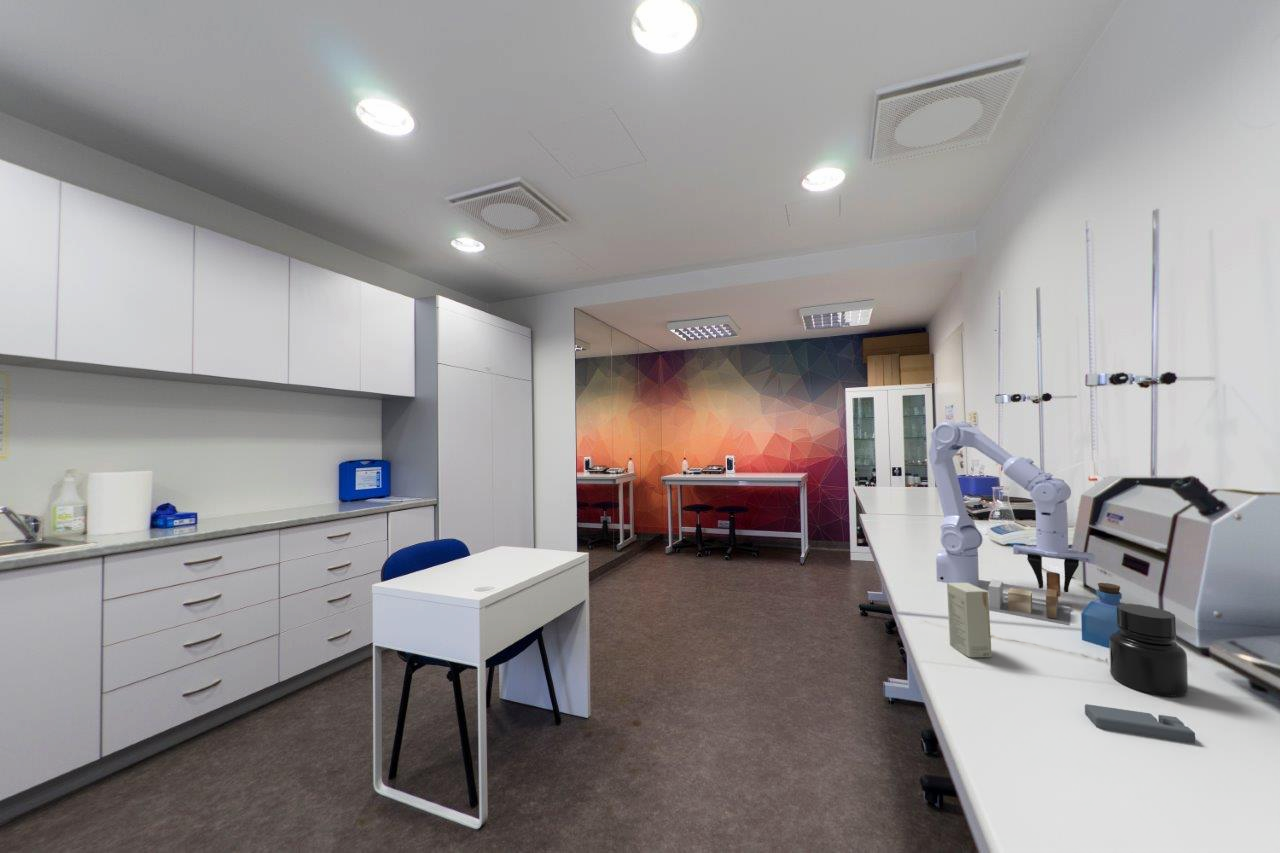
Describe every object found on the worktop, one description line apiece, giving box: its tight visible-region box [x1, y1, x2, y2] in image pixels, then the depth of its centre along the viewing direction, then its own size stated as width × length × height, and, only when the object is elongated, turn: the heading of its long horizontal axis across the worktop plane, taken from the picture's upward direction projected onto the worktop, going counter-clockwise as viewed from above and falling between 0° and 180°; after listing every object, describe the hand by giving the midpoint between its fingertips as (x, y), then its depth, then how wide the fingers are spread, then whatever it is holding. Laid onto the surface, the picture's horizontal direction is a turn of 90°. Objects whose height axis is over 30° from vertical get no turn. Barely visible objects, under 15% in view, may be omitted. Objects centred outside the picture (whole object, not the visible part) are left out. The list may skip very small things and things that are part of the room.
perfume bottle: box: [1080, 582, 1126, 649], centre depth 94 cm, size 6×6×12 cm
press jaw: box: [1045, 571, 1061, 618], centre depth 111 cm, size 2×13×7 cm, turn 138°
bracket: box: [1084, 703, 1196, 745], centre depth 69 cm, size 4×10×2 cm, turn 68°
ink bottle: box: [1108, 603, 1189, 697], centre depth 81 cm, size 10×9×12 cm
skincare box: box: [946, 583, 993, 658], centre depth 94 cm, size 6×4×12 cm
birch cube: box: [1007, 587, 1033, 614], centre depth 112 cm, size 4×4×4 cm
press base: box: [988, 579, 1072, 627], centre depth 113 cm, size 14×16×6 cm
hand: (1053, 589), depth 115 cm, fingers open, 4 cm apart
